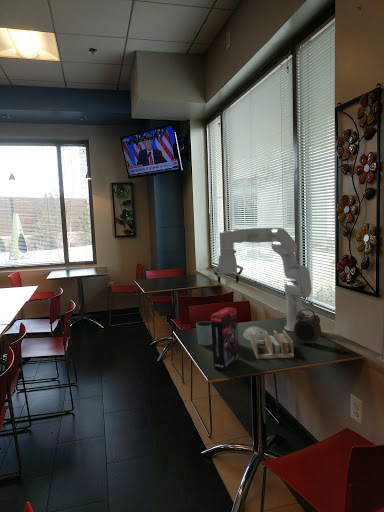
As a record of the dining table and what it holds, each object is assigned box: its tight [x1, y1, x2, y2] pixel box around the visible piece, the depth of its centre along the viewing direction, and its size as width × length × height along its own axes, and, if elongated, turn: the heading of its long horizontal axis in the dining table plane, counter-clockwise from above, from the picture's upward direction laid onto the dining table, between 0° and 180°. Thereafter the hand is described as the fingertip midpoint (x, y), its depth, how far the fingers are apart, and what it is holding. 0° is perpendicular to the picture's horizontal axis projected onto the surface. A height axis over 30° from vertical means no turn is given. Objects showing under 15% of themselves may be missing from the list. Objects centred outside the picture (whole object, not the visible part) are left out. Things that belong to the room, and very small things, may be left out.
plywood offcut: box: [277, 333, 289, 353], centre depth 201 cm, size 2×15×7 cm, turn 179°
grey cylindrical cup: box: [195, 320, 212, 346], centre depth 217 cm, size 10×10×12 cm
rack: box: [250, 329, 295, 360], centre depth 201 cm, size 19×22×8 cm
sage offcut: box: [268, 334, 280, 354], centre depth 201 cm, size 2×16×6 cm, turn 2°
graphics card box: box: [210, 307, 240, 371], centre depth 184 cm, size 17×7×27 cm, turn 148°
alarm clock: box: [294, 308, 322, 347], centre depth 208 cm, size 15×7×20 cm, turn 47°
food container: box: [242, 325, 266, 342], centre depth 225 cm, size 16×25×7 cm, turn 14°
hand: (228, 283), depth 206 cm, fingers open, 9 cm apart
